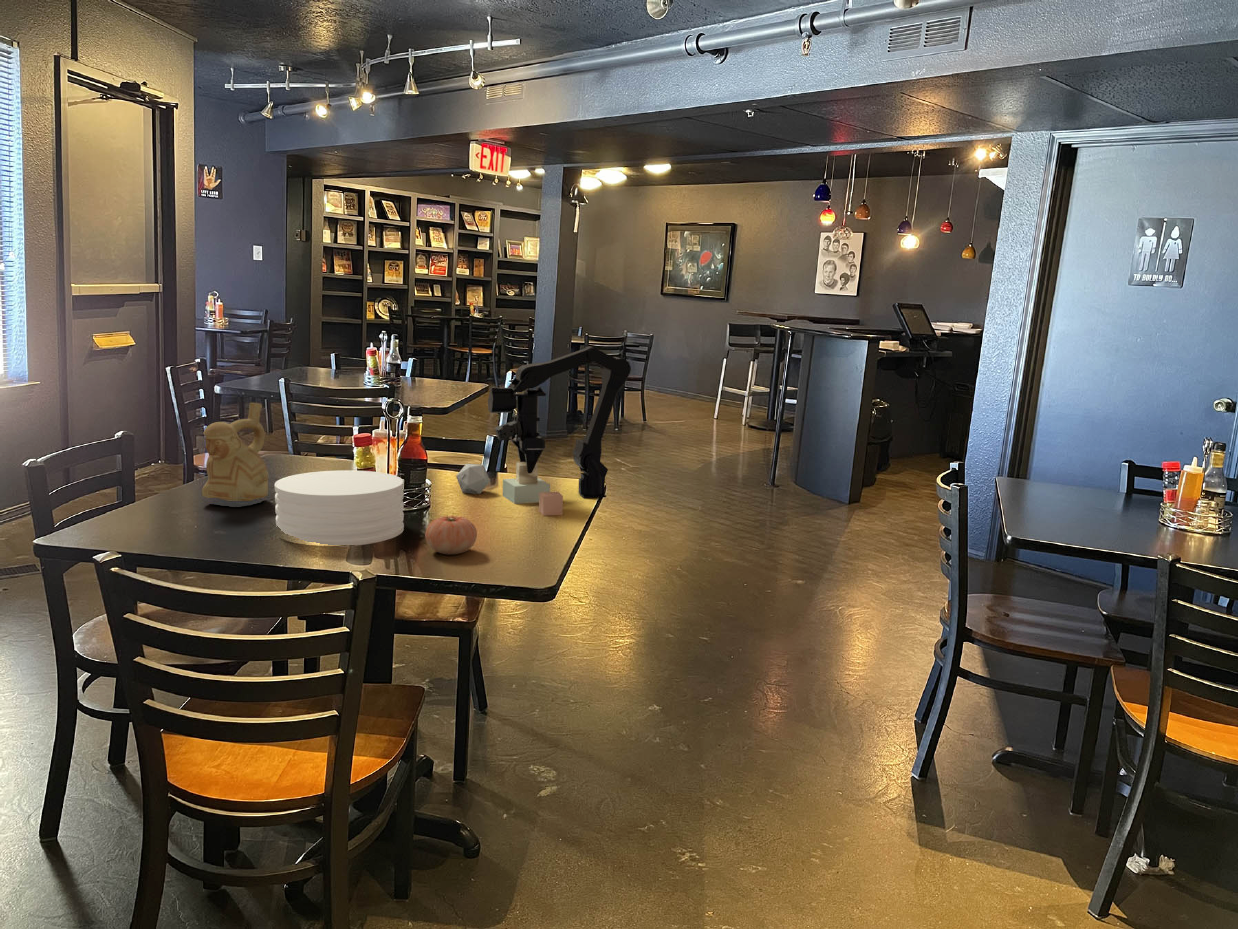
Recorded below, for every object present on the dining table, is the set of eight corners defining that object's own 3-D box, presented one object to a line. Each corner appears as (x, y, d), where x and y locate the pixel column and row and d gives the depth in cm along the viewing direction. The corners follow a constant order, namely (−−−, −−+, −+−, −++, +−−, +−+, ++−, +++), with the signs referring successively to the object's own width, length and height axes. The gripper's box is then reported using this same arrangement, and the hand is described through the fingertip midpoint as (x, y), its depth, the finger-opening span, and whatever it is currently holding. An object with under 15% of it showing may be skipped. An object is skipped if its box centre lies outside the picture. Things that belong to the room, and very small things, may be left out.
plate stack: (429, 529, 214) (429, 481, 212) (331, 554, 191) (330, 501, 189) (349, 510, 229) (348, 465, 227) (249, 532, 207) (248, 482, 204)
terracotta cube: (557, 510, 237) (558, 491, 236) (562, 515, 233) (562, 495, 232) (539, 511, 236) (539, 492, 235) (543, 515, 231) (543, 496, 230)
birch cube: (534, 479, 251) (534, 461, 251) (537, 483, 247) (537, 465, 246) (516, 480, 250) (516, 462, 249) (519, 483, 245) (519, 465, 244)
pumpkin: (421, 547, 199) (421, 511, 197) (470, 544, 203) (471, 509, 201) (430, 561, 189) (430, 523, 187) (481, 557, 193) (482, 520, 191)
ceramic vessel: (183, 507, 226) (178, 406, 222) (239, 492, 244) (235, 399, 240) (240, 514, 221) (236, 411, 216) (293, 498, 239) (290, 403, 235)
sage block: (537, 494, 256) (537, 477, 255) (549, 502, 247) (550, 484, 246) (502, 497, 252) (502, 479, 251) (514, 504, 243) (514, 486, 242)
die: (455, 491, 258) (448, 468, 251) (479, 474, 262) (472, 451, 255) (473, 506, 254) (466, 483, 247) (497, 488, 257) (490, 465, 250)
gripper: (491, 408, 251) (491, 464, 254) (503, 417, 234) (502, 477, 237) (531, 408, 255) (530, 463, 257) (546, 417, 237) (544, 476, 240)
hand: (526, 469), depth 248 cm, fingers open, 9 cm apart
